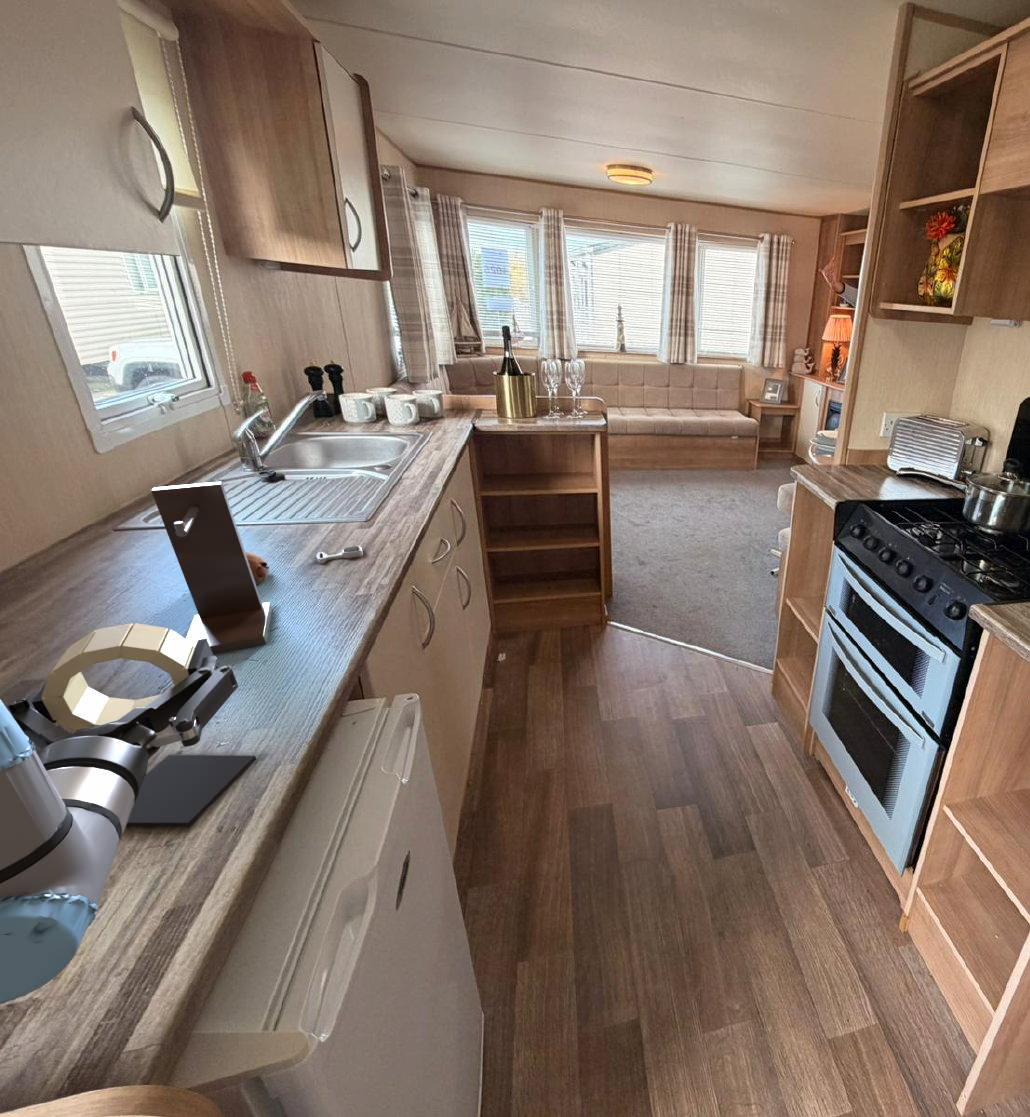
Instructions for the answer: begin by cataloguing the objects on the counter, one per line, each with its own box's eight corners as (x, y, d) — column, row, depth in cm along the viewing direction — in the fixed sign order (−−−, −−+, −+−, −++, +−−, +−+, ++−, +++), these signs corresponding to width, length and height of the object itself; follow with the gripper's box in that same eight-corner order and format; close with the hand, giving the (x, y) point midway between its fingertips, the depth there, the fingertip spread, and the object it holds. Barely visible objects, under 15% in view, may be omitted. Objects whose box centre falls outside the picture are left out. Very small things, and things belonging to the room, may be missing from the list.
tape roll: (86, 722, 62) (42, 638, 58) (214, 693, 67) (182, 613, 63) (70, 752, 58) (21, 664, 54) (206, 718, 64) (172, 635, 59)
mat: (90, 827, 62) (88, 822, 62) (170, 758, 71) (168, 754, 71) (190, 827, 63) (187, 823, 63) (256, 759, 72) (255, 755, 72)
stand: (197, 623, 98) (144, 487, 88) (272, 609, 103) (230, 479, 94) (183, 661, 89) (122, 514, 79) (266, 644, 94) (218, 504, 84)
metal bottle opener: (363, 557, 124) (362, 551, 123) (317, 564, 120) (316, 558, 119) (362, 549, 127) (360, 544, 127) (317, 557, 123) (315, 551, 122)
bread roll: (220, 592, 115) (183, 563, 110) (273, 561, 118) (240, 531, 113) (221, 613, 108) (183, 583, 103) (277, 579, 112) (243, 548, 107)
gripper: (-131, 901, 43) (0, 724, 60) (263, 783, 54) (280, 662, 71) (-193, 827, 40) (-37, 662, 57) (238, 718, 51) (262, 608, 68)
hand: (139, 662), depth 64 cm, fingers closed on tape roll, 10 cm apart
